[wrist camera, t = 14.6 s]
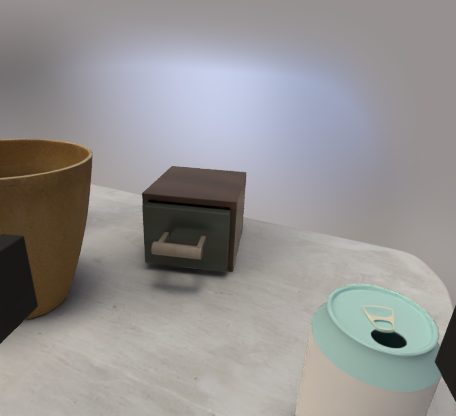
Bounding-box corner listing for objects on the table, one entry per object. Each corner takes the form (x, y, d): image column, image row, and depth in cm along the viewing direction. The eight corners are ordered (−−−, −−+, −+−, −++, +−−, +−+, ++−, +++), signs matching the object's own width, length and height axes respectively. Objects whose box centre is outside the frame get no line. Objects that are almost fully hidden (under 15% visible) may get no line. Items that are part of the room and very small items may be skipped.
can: (420, 473, 23) (480, 331, 18) (348, 542, 19) (400, 388, 14) (337, 391, 28) (368, 266, 23) (270, 433, 24) (290, 296, 20)
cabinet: (232, 271, 44) (237, 202, 40) (145, 261, 45) (142, 193, 41) (242, 229, 55) (246, 172, 51) (172, 222, 56) (171, 166, 53)
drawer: (221, 292, 38) (224, 230, 35) (132, 281, 39) (127, 220, 36) (237, 231, 52) (240, 183, 49) (171, 224, 53) (170, 177, 50)
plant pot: (-42, 380, 27) (-108, 192, 21) (-61, 291, 37) (-109, 146, 31) (129, 304, 37) (118, 160, 31) (78, 250, 47) (62, 132, 41)
